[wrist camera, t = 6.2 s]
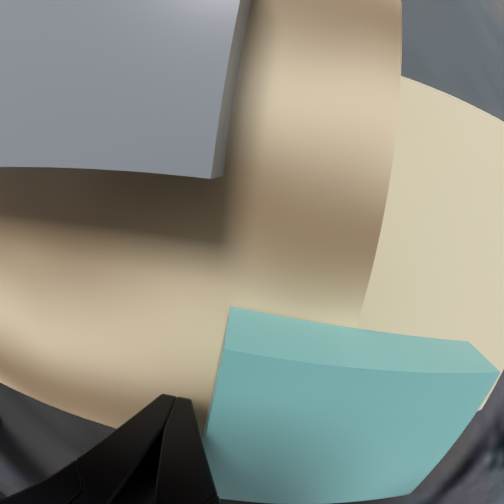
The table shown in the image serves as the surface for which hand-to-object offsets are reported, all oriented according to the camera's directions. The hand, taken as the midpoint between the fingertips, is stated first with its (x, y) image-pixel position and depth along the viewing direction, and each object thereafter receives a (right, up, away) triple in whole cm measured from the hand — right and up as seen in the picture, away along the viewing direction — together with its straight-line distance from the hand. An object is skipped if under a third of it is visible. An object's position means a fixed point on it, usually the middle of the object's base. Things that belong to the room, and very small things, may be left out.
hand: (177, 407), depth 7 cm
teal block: (+5, -1, +1) cm, 5 cm away
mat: (+11, +3, +4) cm, 13 cm away
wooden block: (-4, +6, +4) cm, 8 cm away
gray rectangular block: (-2, +9, -1) cm, 10 cm away
